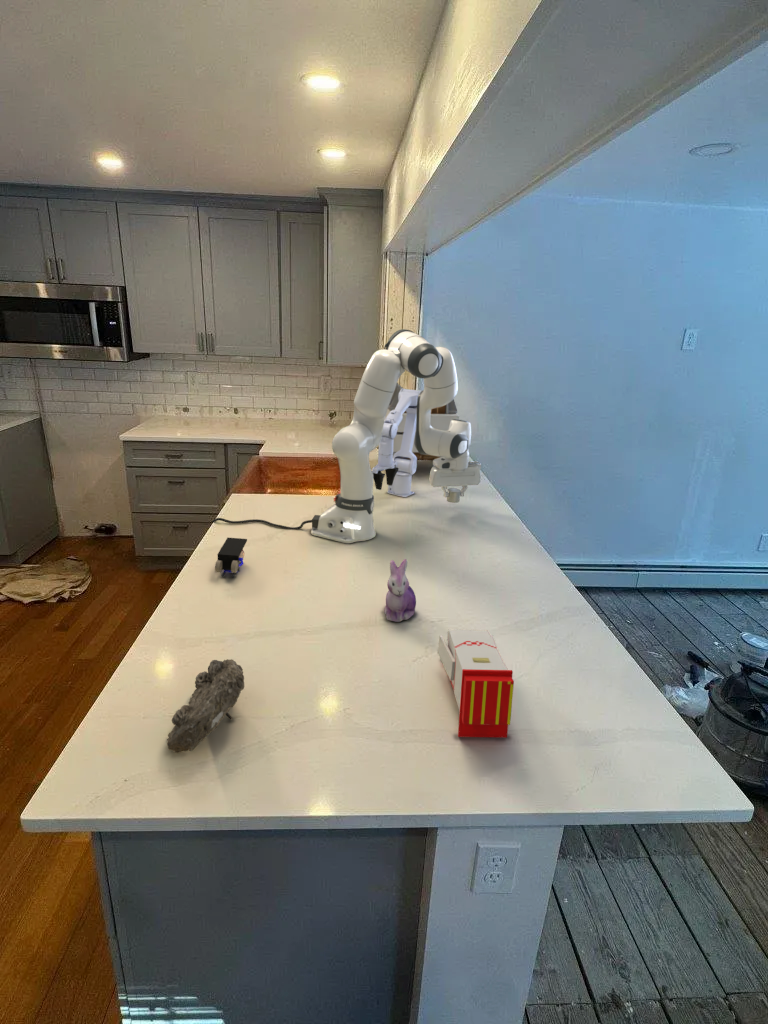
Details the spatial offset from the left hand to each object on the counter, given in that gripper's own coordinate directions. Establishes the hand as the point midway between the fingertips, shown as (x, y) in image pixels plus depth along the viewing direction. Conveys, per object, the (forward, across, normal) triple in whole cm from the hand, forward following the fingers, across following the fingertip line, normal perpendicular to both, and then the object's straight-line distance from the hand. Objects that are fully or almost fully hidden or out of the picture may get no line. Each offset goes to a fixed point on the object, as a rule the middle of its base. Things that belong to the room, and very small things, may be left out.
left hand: (453, 496), depth 219 cm
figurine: (+8, +46, +68) cm, 82 cm away
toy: (+8, +42, +101) cm, 110 cm away
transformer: (+7, -11, -67) cm, 68 cm away
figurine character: (+8, +85, +32) cm, 91 cm away
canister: (+2, 0, 0) cm, 2 cm away
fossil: (+8, +93, +96) cm, 134 cm away
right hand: (0, +24, -14) cm, 28 cm away
